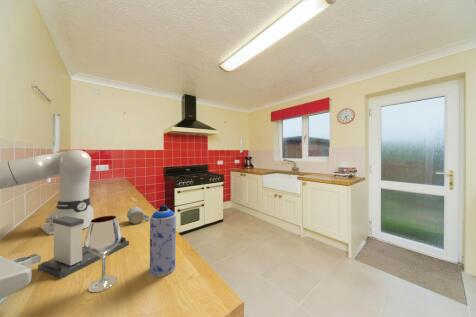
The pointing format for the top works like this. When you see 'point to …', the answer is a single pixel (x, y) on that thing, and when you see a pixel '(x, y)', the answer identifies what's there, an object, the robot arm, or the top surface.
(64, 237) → the fader knob
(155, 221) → the aerosol can
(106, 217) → the wineglass
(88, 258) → the fader track
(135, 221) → the light bulb
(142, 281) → the top surface
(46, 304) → the top surface
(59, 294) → the top surface
